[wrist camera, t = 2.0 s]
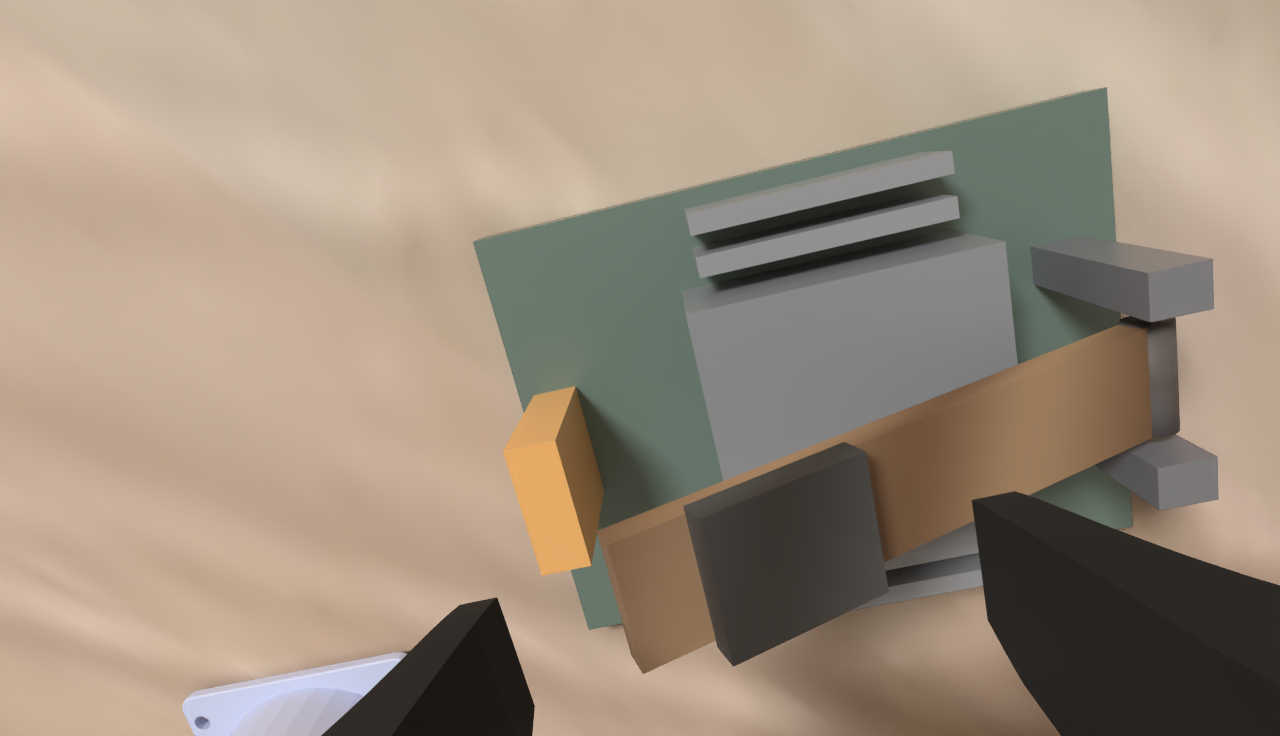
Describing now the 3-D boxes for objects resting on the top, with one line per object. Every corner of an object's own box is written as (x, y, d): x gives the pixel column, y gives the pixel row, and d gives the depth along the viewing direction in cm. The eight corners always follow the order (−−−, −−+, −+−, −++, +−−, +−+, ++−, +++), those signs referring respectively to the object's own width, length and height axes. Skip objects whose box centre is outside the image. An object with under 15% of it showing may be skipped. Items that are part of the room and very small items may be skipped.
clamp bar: (1139, 304, 16) (1207, 311, 15) (1146, 421, 17) (1211, 438, 15) (590, 518, 12) (616, 552, 11) (629, 655, 13) (657, 702, 12)
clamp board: (1111, 509, 21) (1263, 626, 16) (591, 610, 23) (570, 748, 17) (1082, 91, 18) (1260, 60, 13) (482, 238, 20) (414, 266, 14)
